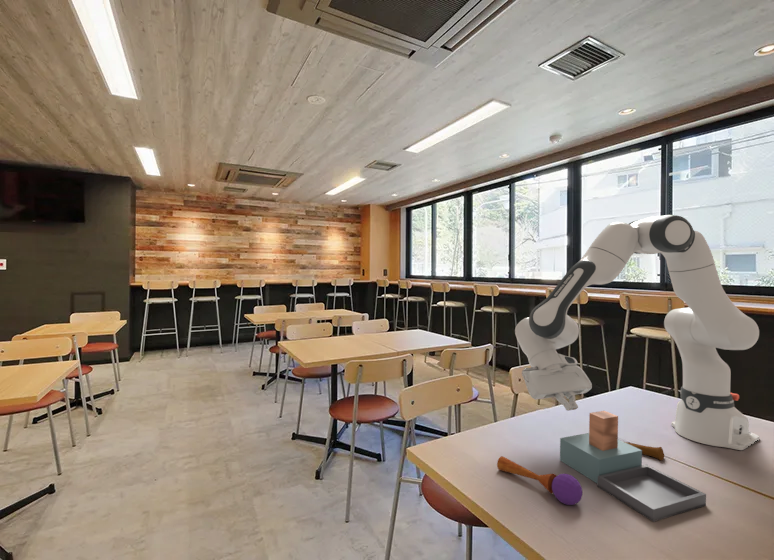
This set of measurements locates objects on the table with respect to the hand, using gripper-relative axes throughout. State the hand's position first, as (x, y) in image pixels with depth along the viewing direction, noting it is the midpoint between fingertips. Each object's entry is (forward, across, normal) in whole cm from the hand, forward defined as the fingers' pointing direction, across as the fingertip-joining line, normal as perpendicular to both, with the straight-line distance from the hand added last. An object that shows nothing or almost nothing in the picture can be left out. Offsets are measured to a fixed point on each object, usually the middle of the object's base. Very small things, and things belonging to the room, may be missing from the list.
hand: (572, 409), depth 104 cm
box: (+24, 0, -7) cm, 25 cm away
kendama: (+16, -21, +1) cm, 27 cm away
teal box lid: (+15, 0, +2) cm, 15 cm away
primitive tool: (+11, +15, +7) cm, 20 cm away
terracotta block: (+11, 0, -3) cm, 11 cm away
